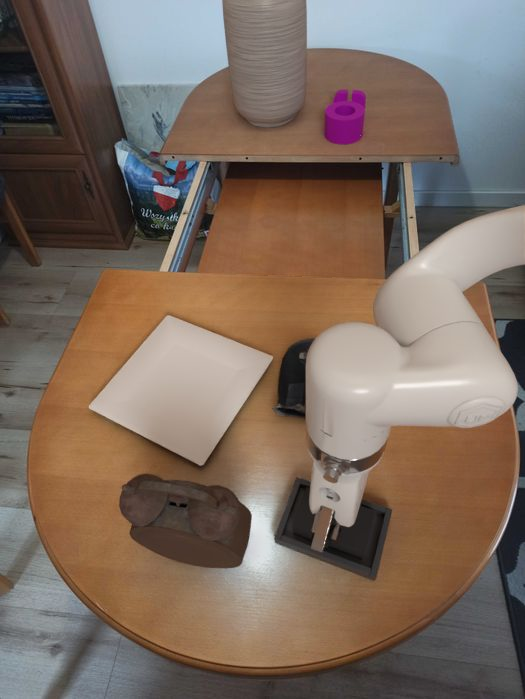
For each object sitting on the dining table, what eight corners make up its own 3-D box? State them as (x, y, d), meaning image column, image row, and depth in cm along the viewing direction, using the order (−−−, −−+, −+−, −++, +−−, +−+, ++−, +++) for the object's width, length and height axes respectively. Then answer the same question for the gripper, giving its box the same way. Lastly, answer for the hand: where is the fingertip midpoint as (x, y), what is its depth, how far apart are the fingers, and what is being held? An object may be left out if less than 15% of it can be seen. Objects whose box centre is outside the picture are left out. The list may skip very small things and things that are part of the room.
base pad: (390, 514, 68) (392, 509, 66) (374, 581, 63) (376, 577, 61) (296, 482, 72) (296, 476, 70) (274, 543, 67) (274, 538, 65)
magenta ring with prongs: (360, 145, 126) (362, 121, 121) (321, 143, 128) (322, 119, 123) (367, 114, 135) (369, 90, 130) (331, 112, 137) (332, 89, 132)
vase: (253, 93, 147) (242, -48, 121) (317, 103, 141) (320, -43, 114) (221, 126, 136) (202, -20, 110) (289, 138, 130) (285, -14, 104)
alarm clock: (260, 526, 68) (247, 463, 53) (248, 582, 64) (230, 532, 48) (161, 507, 71) (120, 442, 55) (143, 560, 67) (93, 505, 51)
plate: (274, 363, 85) (274, 355, 84) (204, 471, 74) (201, 465, 72) (169, 320, 93) (167, 313, 91) (91, 413, 82) (86, 406, 80)
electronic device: (333, 426, 79) (341, 345, 86) (329, 412, 74) (338, 327, 81) (276, 422, 81) (288, 343, 88) (269, 408, 77) (282, 327, 84)
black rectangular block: (372, 519, 67) (375, 510, 64) (362, 559, 64) (365, 551, 61) (306, 496, 70) (306, 486, 67) (293, 533, 67) (292, 525, 64)
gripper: (362, 535, 40) (347, 586, 54) (406, 370, 50) (384, 448, 63) (275, 504, 42) (282, 561, 56) (333, 351, 52) (328, 431, 65)
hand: (336, 501), depth 60 cm, fingers open, 8 cm apart
